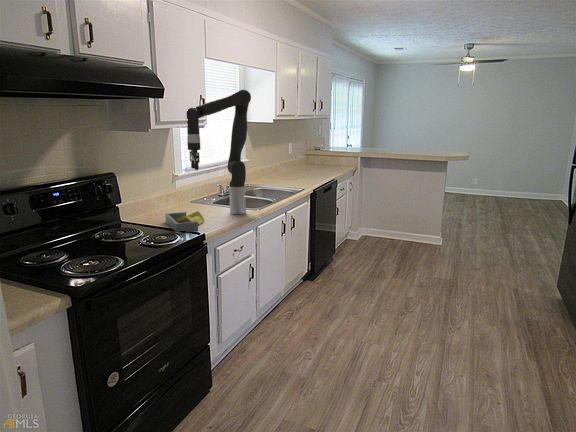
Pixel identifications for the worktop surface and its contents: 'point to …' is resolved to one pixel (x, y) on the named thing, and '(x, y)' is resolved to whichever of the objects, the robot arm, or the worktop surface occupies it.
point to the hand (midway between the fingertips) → (194, 168)
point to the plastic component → (191, 218)
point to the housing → (180, 226)
